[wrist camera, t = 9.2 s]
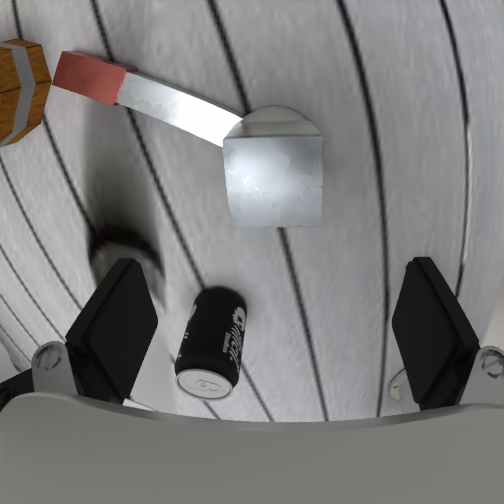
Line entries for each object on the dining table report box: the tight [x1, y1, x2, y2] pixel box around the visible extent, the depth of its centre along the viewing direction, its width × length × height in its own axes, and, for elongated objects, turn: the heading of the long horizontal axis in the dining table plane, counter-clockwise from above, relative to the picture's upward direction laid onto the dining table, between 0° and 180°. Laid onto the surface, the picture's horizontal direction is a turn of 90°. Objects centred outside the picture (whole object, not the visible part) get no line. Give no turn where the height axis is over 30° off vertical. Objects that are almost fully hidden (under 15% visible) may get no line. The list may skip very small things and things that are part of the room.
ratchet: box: [52, 51, 308, 147], centre depth 22 cm, size 27×8×6 cm, turn 63°
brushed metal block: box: [222, 121, 324, 228], centre depth 21 cm, size 6×6×7 cm
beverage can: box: [175, 289, 247, 401], centre depth 32 cm, size 7×7×12 cm
